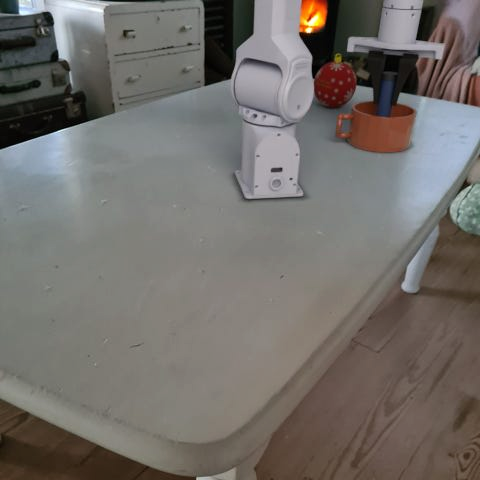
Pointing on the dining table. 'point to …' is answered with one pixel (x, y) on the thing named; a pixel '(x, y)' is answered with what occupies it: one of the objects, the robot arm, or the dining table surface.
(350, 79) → the christmas ornament
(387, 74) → the glue stick
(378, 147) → the mug
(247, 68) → the robot arm
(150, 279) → the dining table surface
